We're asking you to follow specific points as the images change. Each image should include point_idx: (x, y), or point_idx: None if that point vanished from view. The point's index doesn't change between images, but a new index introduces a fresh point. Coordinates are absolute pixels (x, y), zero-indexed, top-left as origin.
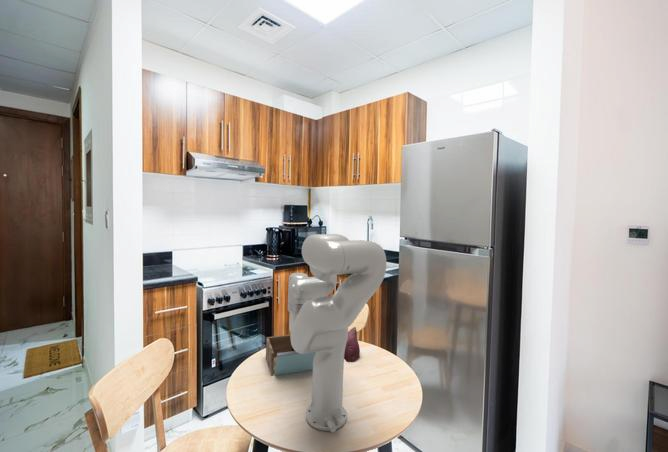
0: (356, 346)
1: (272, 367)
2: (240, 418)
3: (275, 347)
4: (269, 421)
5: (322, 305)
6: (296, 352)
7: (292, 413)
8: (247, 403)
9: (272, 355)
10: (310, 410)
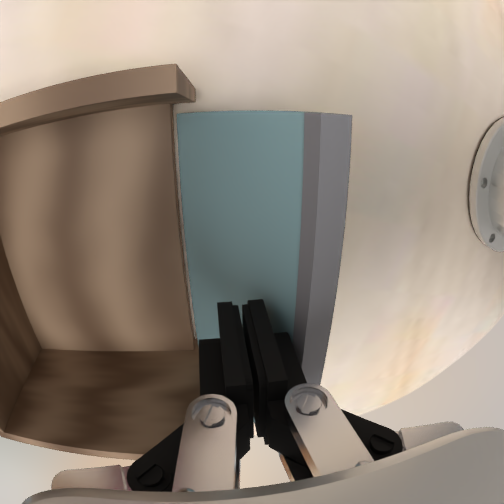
0: None
1: None
2: (392, 400)
3: (6, 354)
4: (443, 341)
5: None
6: (319, 363)
7: (455, 282)
8: (343, 399)
9: None
10: (491, 233)
